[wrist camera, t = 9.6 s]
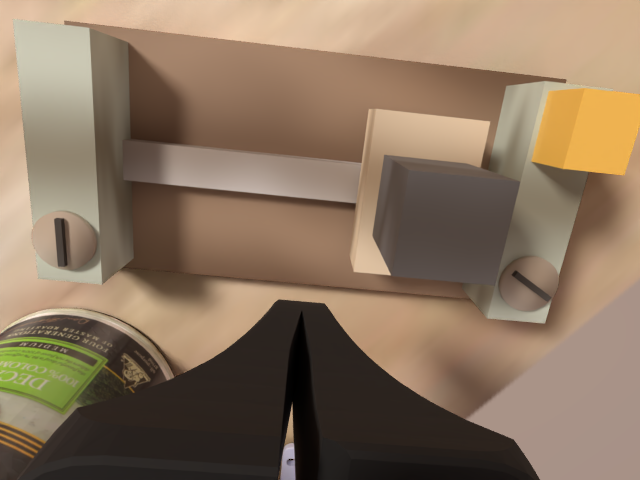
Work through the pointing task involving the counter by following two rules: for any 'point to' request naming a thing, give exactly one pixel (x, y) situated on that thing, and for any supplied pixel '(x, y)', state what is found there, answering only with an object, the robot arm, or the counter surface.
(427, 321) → the counter surface
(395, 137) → the carriage
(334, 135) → the rail board
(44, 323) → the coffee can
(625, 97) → the button
